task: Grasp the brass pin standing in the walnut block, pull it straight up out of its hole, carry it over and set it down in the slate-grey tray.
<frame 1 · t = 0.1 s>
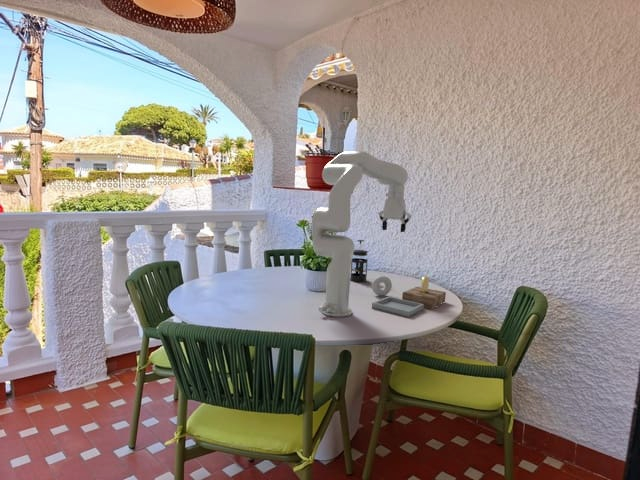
hand: (393, 230, 189), 31 cm above the table, tool pointing down, fingers open, 9 cm apart
pin: (424, 290, 177), in the pin block
tray: (397, 309, 166), on the table
pin block: (423, 302, 177), on the table
french press: (358, 281, 217), on the table
donut: (381, 296, 187), on the table
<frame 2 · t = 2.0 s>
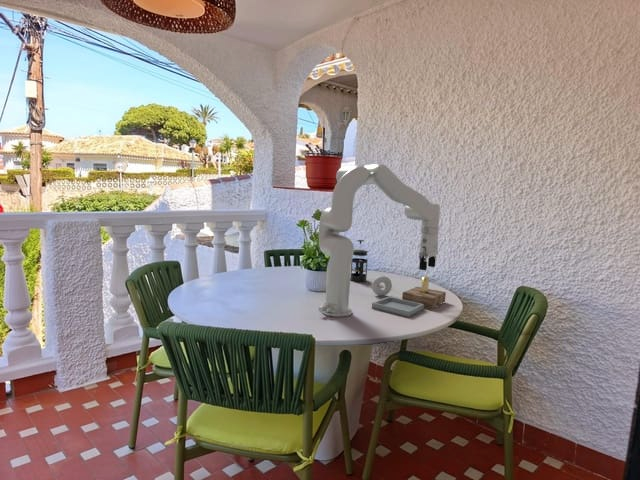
hand: (427, 268, 176), 16 cm above the table, tool pointing down, fingers open, 9 cm apart
nothing on the table moved.
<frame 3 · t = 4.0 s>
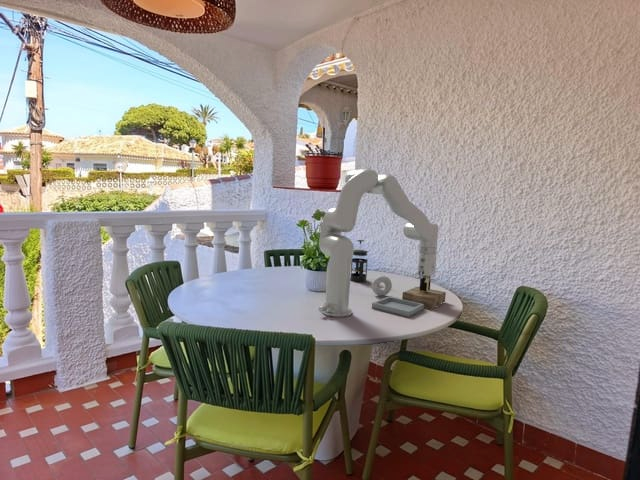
hand: (424, 289, 177), 6 cm above the table, tool pointing down, fingers closed on pin, 3 cm apart
pin: (424, 290, 177), in the pin block, touching gripper
everything else where it was.
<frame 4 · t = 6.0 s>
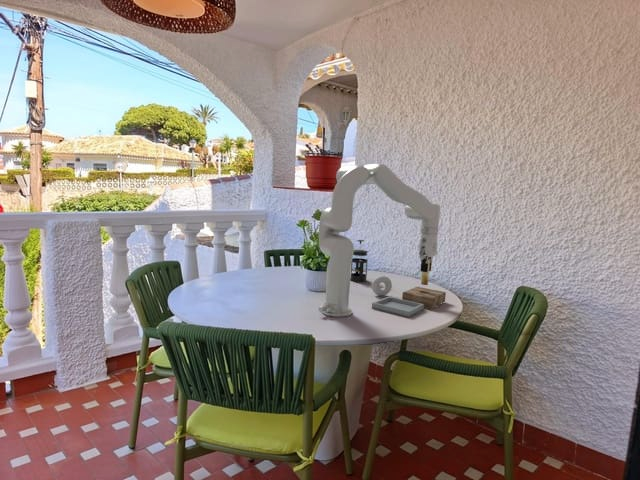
hand: (425, 270, 175), 15 cm above the table, tool pointing down, fingers closed on pin, 3 cm apart
pin: (425, 271, 175), point 15 cm above the table, touching gripper
everything else where it was.
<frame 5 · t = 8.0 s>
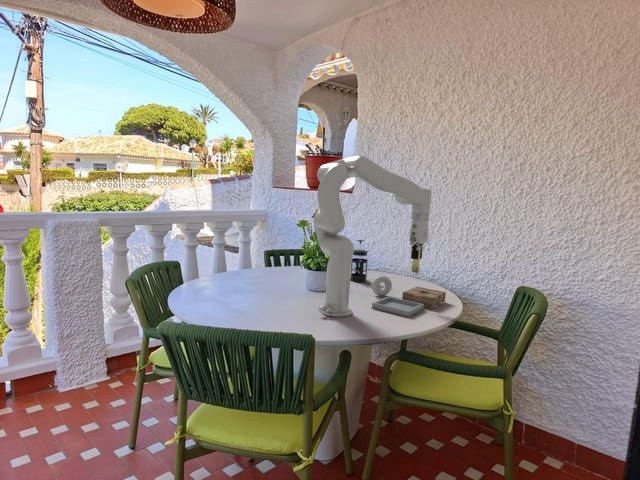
hand: (416, 258, 170), 21 cm above the table, tool pointing down, fingers closed on pin, 3 cm apart
pin: (416, 258, 170), point 21 cm above the table, touching gripper
everything else where it was.
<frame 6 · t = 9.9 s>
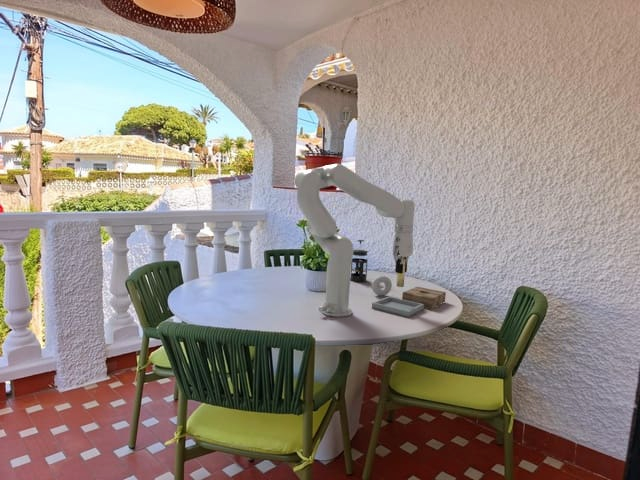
hand: (400, 271, 164), 16 cm above the table, tool pointing down, fingers closed on pin, 3 cm apart
pin: (401, 272, 164), point 16 cm above the table, touching gripper
everything else where it was.
when the fingers open (9 cm above the table, at t = 11.8 s): pin drops 2 cm, resting on tray.
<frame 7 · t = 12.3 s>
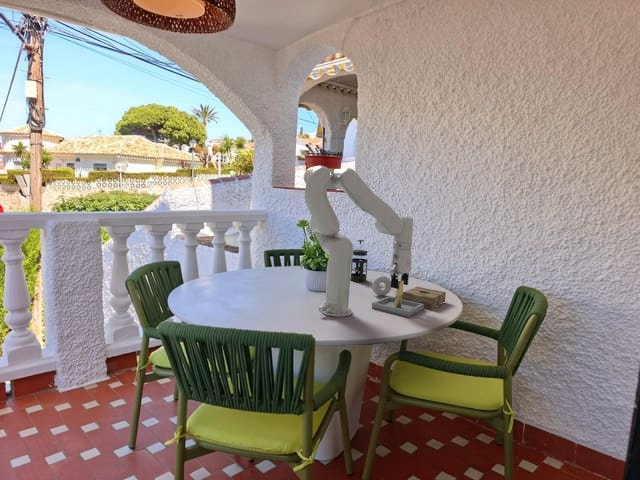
hand: (399, 286, 165), 10 cm above the table, tool pointing down, fingers open, 8 cm apart
pin: (399, 293, 165), in the tray, point 7 cm above the table
everything else where it was.
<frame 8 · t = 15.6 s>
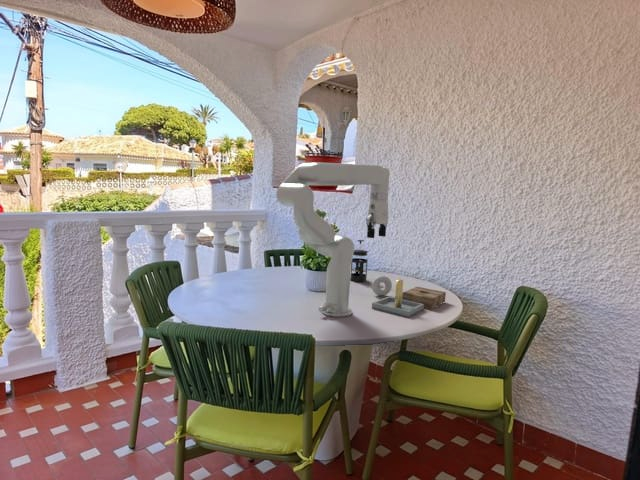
hand: (376, 237, 166), 30 cm above the table, tool pointing down, fingers open, 9 cm apart
nothing on the table moved.
at the end: pin moved 18.5 cm from its start; pin inside the target area on the tray (0.1 cm from its centre), point 6.8 cm above the tray's base; the gripper is holding nothing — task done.
